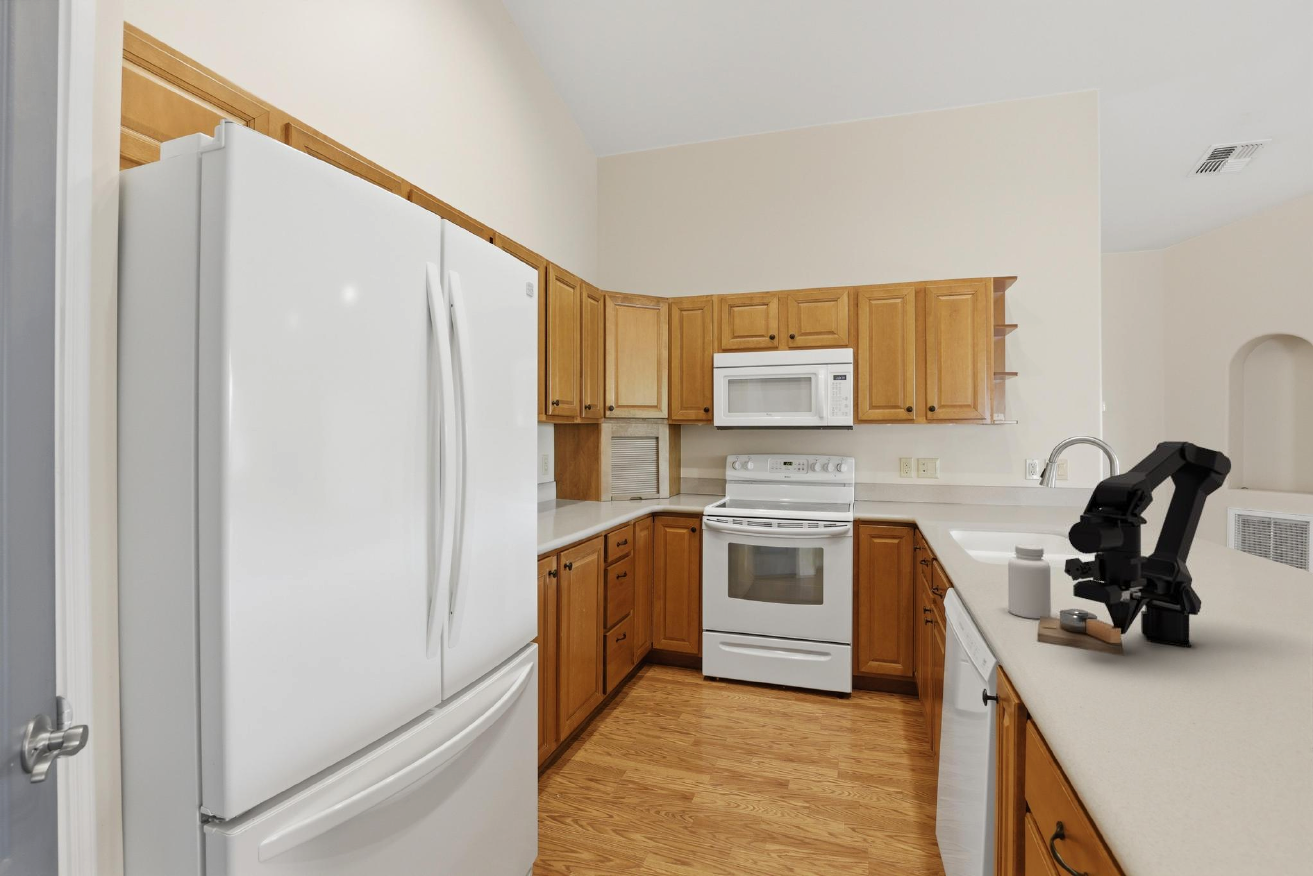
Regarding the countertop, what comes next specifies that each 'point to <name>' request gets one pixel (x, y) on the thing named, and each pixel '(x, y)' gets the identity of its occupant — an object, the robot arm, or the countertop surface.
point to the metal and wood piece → (1089, 625)
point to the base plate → (1073, 637)
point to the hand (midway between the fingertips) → (1120, 633)
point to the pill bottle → (1029, 583)
